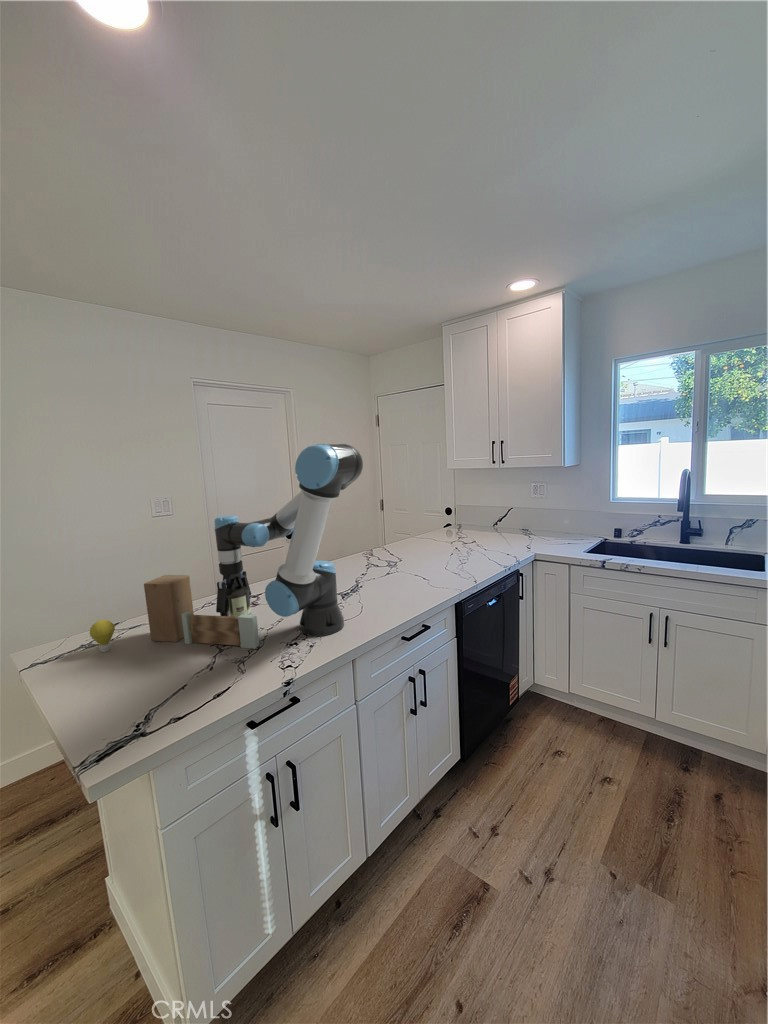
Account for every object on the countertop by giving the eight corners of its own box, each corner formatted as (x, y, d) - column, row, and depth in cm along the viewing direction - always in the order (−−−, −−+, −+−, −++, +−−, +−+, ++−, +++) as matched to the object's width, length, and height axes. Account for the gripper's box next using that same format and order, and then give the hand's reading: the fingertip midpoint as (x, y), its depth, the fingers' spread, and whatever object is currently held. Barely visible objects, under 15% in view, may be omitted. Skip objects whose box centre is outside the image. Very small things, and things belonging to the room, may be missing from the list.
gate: (242, 643, 134) (239, 617, 132) (240, 645, 133) (237, 618, 131) (193, 640, 138) (190, 614, 137) (191, 642, 137) (188, 615, 135)
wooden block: (177, 642, 138) (169, 583, 135) (150, 641, 140) (142, 583, 137) (196, 629, 148) (189, 574, 145) (171, 628, 150) (164, 574, 147)
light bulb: (122, 646, 137) (118, 617, 135) (103, 656, 130) (98, 625, 129) (107, 644, 139) (103, 615, 138) (87, 653, 133) (82, 623, 131)
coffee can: (237, 622, 152) (233, 584, 150) (259, 625, 148) (255, 587, 146) (214, 633, 143) (210, 594, 141) (237, 638, 139) (233, 597, 137)
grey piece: (259, 644, 133) (256, 614, 132) (255, 648, 131) (252, 617, 129) (190, 639, 139) (187, 611, 138) (184, 643, 137) (181, 614, 135)
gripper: (239, 552, 154) (245, 610, 157) (198, 570, 132) (206, 637, 135) (257, 553, 152) (263, 611, 155) (219, 570, 130) (227, 638, 134)
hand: (236, 623), depth 145 cm, fingers closed on coffee can, 10 cm apart
